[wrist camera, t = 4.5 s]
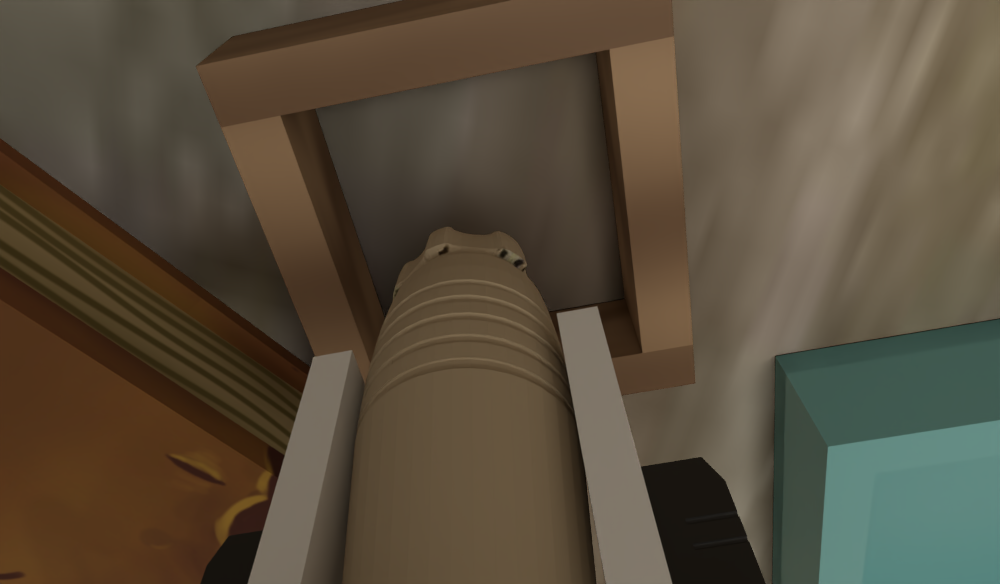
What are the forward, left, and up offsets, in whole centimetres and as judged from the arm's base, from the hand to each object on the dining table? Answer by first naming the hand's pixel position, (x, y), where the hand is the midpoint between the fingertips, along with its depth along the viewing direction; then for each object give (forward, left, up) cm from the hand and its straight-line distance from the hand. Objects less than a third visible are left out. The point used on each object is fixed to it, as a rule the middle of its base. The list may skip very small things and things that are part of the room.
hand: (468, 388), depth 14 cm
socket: (0, 0, -9) cm, 9 cm away
